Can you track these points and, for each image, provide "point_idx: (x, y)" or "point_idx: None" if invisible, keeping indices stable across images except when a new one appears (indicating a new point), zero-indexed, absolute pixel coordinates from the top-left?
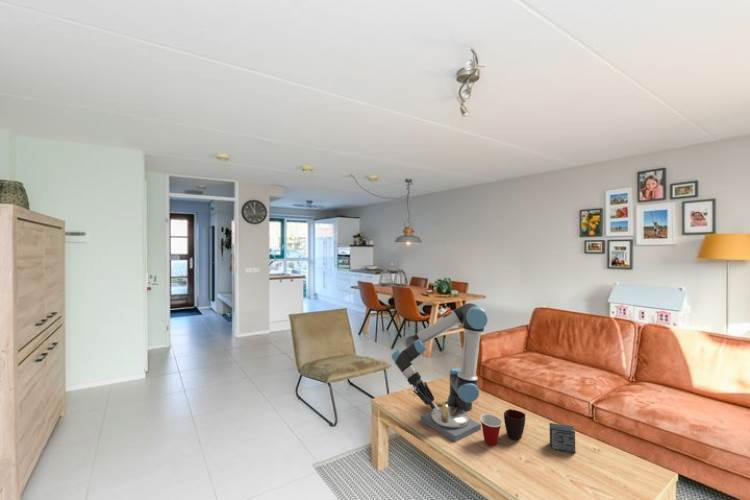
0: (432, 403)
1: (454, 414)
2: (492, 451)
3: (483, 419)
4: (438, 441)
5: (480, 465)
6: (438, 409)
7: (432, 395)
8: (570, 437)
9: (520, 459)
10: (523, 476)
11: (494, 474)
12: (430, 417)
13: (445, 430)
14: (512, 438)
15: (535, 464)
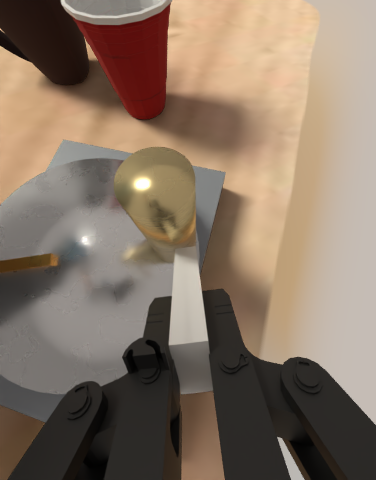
0: (207, 332)
1: (63, 235)
2: (190, 86)
3: (105, 41)
4: (269, 240)
5: (283, 84)
6: (189, 260)
7: (41, 454)
8: None
9: (178, 34)
10: (243, 13)
11: (290, 51)
12: None
13: (211, 228)
14: (88, 67)
15: (176, 11)
